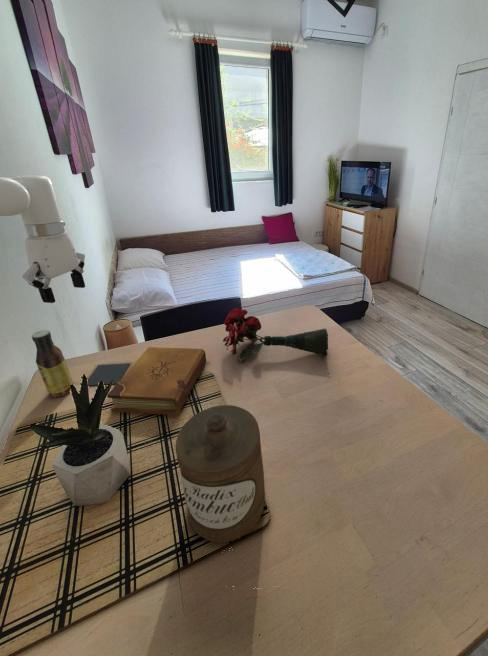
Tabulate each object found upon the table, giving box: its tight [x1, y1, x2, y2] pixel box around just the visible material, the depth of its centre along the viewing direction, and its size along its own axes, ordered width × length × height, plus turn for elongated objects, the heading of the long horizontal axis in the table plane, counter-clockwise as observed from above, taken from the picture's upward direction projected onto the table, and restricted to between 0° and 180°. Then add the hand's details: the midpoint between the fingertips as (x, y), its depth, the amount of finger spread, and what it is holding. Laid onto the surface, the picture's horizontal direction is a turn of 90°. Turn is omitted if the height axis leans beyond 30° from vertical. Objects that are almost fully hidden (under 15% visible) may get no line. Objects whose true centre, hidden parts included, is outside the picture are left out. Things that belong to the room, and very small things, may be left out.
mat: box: [87, 362, 131, 387], centre depth 101 cm, size 10×10×1 cm
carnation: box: [222, 307, 329, 363], centre depth 111 cm, size 16×18×35 cm
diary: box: [106, 346, 207, 416], centre depth 95 cm, size 23×19×6 cm
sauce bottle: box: [31, 329, 74, 398], centre depth 91 cm, size 6×6×20 cm
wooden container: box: [175, 404, 266, 544], centre depth 60 cm, size 15×15×22 cm
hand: (65, 294), depth 85 cm, fingers open, 9 cm apart
